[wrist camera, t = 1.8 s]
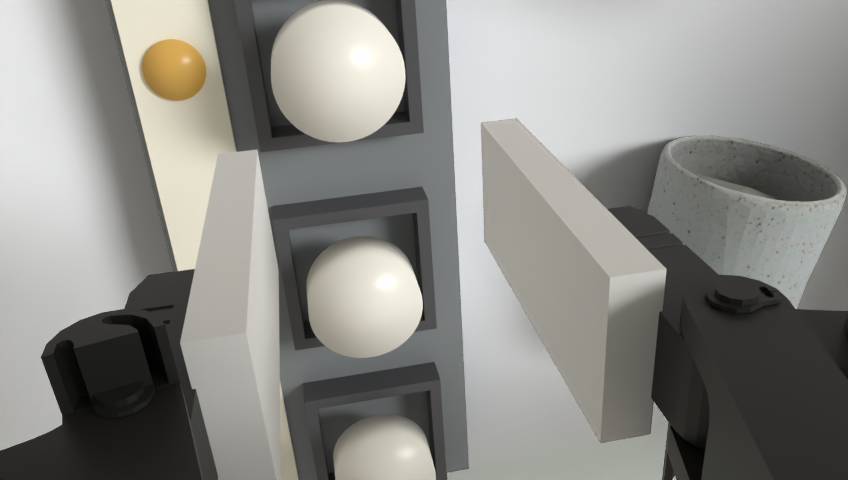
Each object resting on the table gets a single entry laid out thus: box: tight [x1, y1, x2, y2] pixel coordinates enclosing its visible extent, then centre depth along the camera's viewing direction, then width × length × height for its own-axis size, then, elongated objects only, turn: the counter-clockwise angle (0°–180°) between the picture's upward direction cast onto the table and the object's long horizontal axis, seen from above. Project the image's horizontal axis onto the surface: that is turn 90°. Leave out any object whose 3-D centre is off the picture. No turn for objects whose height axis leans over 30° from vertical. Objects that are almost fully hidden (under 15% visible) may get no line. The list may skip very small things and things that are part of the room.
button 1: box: [271, 0, 405, 142], centre depth 25 cm, size 4×4×2 cm
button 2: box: [333, 414, 436, 480], centre depth 33 cm, size 4×4×2 cm
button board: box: [106, 0, 469, 480], centre depth 32 cm, size 12×26×4 cm, turn 4°
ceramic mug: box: [647, 136, 847, 309], centre depth 34 cm, size 11×8×8 cm
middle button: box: [306, 236, 423, 358], centre depth 29 cm, size 4×4×2 cm
